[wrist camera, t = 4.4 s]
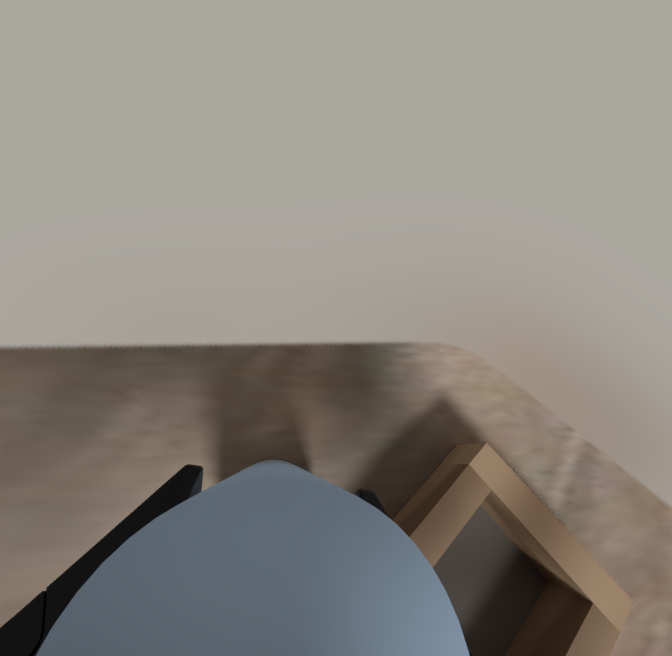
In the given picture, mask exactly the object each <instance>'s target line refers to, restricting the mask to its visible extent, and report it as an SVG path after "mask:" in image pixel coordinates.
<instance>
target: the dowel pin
mask: <svg viewBox="0 0 672 656" xmlns="http://www.w3.org/2000/svg"><path fill="white" fill-rule="evenodd" d="M36 656H469V651H468V648H467V645H466V642H465V639H464V635H463V632H462V629H461V626H460V623H459V620H458V617H457V615H456V613H455V610H454V608H453V606H452V604H451V601H450V599H449V597H448V594H447V592H446V590H445V588H444V587H443V585H442V583H441V581H440V580H439V578H438V576H437V574H436V573H435V571H434V569H433V567H432V566H431V564H430V563H429V562H428V560H427V559H426V558H425V556H424V555H423V554H422V552H421V551H420V549H419V548H418V547H417V545H416V544H415V543H414V542H413V541H412V540H411V539H410V538H409V537H408V535H407V534H406V533H405V532H404V531H403V530H402V529H401V528H400V527H399V526H398V525H397V524H396V523H395V522H393V521H392V520H391V519H390V518H388V517H387V516H386V515H385V514H384V513H382V512H381V511H380V510H379V509H377V508H376V507H374V506H372V505H371V504H369V503H367V502H366V501H364V500H363V499H361V498H359V497H358V496H356V495H354V494H352V493H350V492H348V491H346V490H344V489H342V488H340V487H338V486H336V485H334V484H332V483H330V482H328V481H326V480H324V479H322V478H320V477H318V476H316V475H314V474H312V473H310V472H308V471H306V470H304V469H302V468H300V467H298V466H296V465H294V464H291V463H289V462H286V461H283V460H276V459H275V460H264V461H261V462H257V463H255V464H253V465H251V466H249V467H247V468H245V469H243V470H242V471H240V472H238V473H236V474H234V475H232V476H230V477H229V478H227V479H225V480H223V481H221V482H219V483H217V484H215V485H214V486H212V487H210V488H208V489H206V490H204V491H202V492H200V493H199V494H197V495H195V496H193V497H191V498H189V499H187V500H186V501H184V502H182V503H180V504H179V505H177V506H175V507H173V508H172V509H170V510H168V511H167V512H165V513H163V514H162V515H160V516H158V517H157V518H155V519H154V520H152V521H151V522H150V523H148V524H147V525H146V526H145V527H143V528H142V529H141V530H139V531H138V532H137V533H135V534H134V535H133V536H131V537H130V538H129V539H128V540H127V541H125V542H124V543H123V544H122V545H121V546H120V547H119V548H118V549H117V550H116V551H115V552H114V553H113V554H112V555H111V556H109V557H108V558H107V559H106V560H105V561H104V562H103V563H102V564H101V565H100V566H99V568H98V569H97V570H96V571H95V572H94V573H93V574H92V576H91V577H90V578H89V579H88V580H87V581H86V582H85V584H84V585H83V586H82V587H81V588H80V589H79V591H78V592H77V593H76V594H75V596H74V597H73V599H72V600H71V601H70V603H69V604H68V606H67V607H66V608H65V610H64V611H63V613H62V614H61V615H60V617H59V618H58V620H57V621H56V622H55V624H54V625H53V627H52V628H51V630H50V632H49V634H48V635H47V637H46V639H45V640H44V642H43V644H42V646H41V647H40V649H39V651H38V653H37V654H36Z"/></svg>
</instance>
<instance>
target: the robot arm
mask: <svg viewBox="0 0 672 656" xmlns="http://www.w3.org/2000/svg"><path fill="white" fill-rule="evenodd" d="M202 478H203V467H201V466H197V465H190V464H188V465H185V466H184V467H183V468H182V469H181V470H179V471H178V472H177V473H176V474H175V475H174V476H173V477H172V478H170V479H169V480H168V481H167V482H166V483H165V484H164V485H162V486H161V487H160V488H159V489H158V490H157V491H156V492H155V493H153V494H152V495H151V496H150V497H149V498H148V499H147V500H145V501H144V502H143V503H142V504H141V505H140V506H139V507H138V508H136V509H135V510H134V511H133V512H132V513H131V514H130V515H128V516H127V517H126V518H125V519H124V520H123V521H122V522H121V523H119V524H118V525H117V526H116V527H115V528H114V529H113V530H111V531H110V532H109V533H108V534H107V535H106V536H105V537H104V538H102V539H101V540H100V541H99V542H98V543H97V544H96V545H94V546H93V547H92V548H91V549H90V550H89V551H88V552H87V553H85V554H84V555H83V556H82V557H81V558H80V559H79V560H77V561H76V562H75V563H74V564H73V565H72V566H71V567H70V568H68V569H67V570H66V571H65V572H64V573H63V574H62V575H60V576H59V577H58V578H57V579H56V580H55V581H54V582H53V583H51V584H50V585H49V586H48V587H47V589H46V591H42V592H41V593H40V594H39V595H37V596H36V597H35V598H34V599H33V600H32V601H31V602H30V603H28V604H27V605H26V606H25V607H24V608H23V609H22V610H21V611H19V612H18V613H17V614H16V615H15V616H14V617H12V618H11V619H10V620H9V621H8V622H6V623H5V624H4V625H3V626H2V627H1V628H0V656H36V654H37V653H38V651H39V649H40V647H41V646H42V644H43V642H44V640H45V639H46V637H47V635H48V634H49V632H50V630H51V628H52V627H53V625H54V624H55V622H56V621H57V620H58V618H59V617H60V615H61V614H62V613H63V611H64V610H65V608H66V607H67V606H68V604H69V603H70V601H71V600H72V599H73V597H74V596H75V594H76V593H77V592H78V591H79V589H80V588H81V587H82V586H83V585H84V584H85V582H86V581H87V580H88V579H89V578H90V577H91V576H92V574H93V573H94V572H95V571H96V570H97V569H98V568H99V566H100V565H101V564H102V563H103V562H104V561H105V560H106V559H107V558H108V557H109V556H111V555H112V554H113V553H114V552H115V551H116V550H117V549H118V548H119V547H120V546H121V545H122V544H123V543H124V542H125V541H127V540H128V539H129V538H130V537H131V536H133V535H134V534H135V533H137V532H138V531H139V530H141V529H142V528H143V527H145V526H146V525H147V524H148V523H150V522H151V521H152V520H154V519H155V518H157V517H158V516H160V515H162V514H163V513H165V512H167V511H168V510H170V509H172V508H173V507H175V506H177V505H179V504H180V503H182V502H184V501H186V500H187V499H189V498H191V497H193V496H195V495H197V494H199V493H200V492H201V489H202ZM356 496H358V497H359V498H361V499H363V500H364V501H366V502H367V503H369V504H371V505H372V506H374V507H376V508H377V509H379V510H380V511H381V512H382V513H384V514H385V515H386V516H387V517H388V518H389V516H388V514H387V513H386V511H385V509H384V508H383V506H382V504H381V503H380V501H379V500H378V498H377V496H376V495H375V493H374V492H373V491H371V490H366V489H358V490H357V492H356ZM466 645H467V644H466ZM467 648H468V651H469V656H474V655H473V653H472V652H471V650H470V649H469V647H468V645H467Z"/></svg>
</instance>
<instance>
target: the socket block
mask: <svg viewBox="0 0 672 656" xmlns="http://www.w3.org/2000/svg"><path fill="white" fill-rule="evenodd" d="M392 521H393V522H395V523H396V524H397V525H398V526H399V527H400V528H401V529H402V530H403V531H404V532H405V533H406V534H407V535H408V537H409V538H410V539H411V540H412V541H413V542H414V543H415V544H416V545H417V547H418V548H419V549H420V551H421V552H422V554H423V555H424V556H425V558H426V559H427V560H428V562H429V563H430V564H431V566H432V567H433V569H434V571H435V573H436V574H437V576H438V578H439V580H440V581H441V583H442V585H443V587H444V588H445V590H446V592H447V594H448V597H449V599H450V601H451V604H452V606H453V608H454V610H455V613H456V615H457V617H458V620H459V623H460V626H461V629H462V632H463V635H464V639H465V642H466V644H467V645H468V647H469V649H470V650H471V652H472V653H473V655H474V656H609V654H610V652H611V650H612V648H613V646H614V644H615V642H616V640H617V638H618V635H619V633H620V631H621V629H622V627H623V625H624V623H625V621H626V619H627V617H628V615H629V612H630V610H631V608H632V606H633V604H634V602H633V601H632V600H631V599H630V598H629V596H628V595H627V594H626V593H625V592H624V591H623V590H622V589H621V588H620V587H619V586H618V584H617V583H616V582H615V581H614V580H613V579H612V578H611V577H610V576H609V575H608V574H607V572H606V571H605V570H604V569H603V568H602V567H601V566H600V565H599V564H598V563H597V562H596V561H595V559H594V558H593V557H592V556H591V555H590V554H589V553H588V552H587V551H586V550H585V549H584V547H583V546H582V545H581V544H580V543H579V542H578V541H577V540H576V539H575V538H574V537H573V536H572V534H571V533H570V532H569V531H568V530H567V529H566V528H565V527H564V526H563V525H562V524H561V522H560V521H559V520H558V519H557V518H556V517H555V516H554V515H553V514H552V513H551V512H550V510H549V509H548V508H547V507H546V506H545V505H544V504H543V503H542V502H541V501H540V500H539V499H538V497H537V496H536V495H535V494H534V493H533V492H532V491H531V490H530V489H529V488H528V487H527V485H526V484H525V483H524V482H523V481H522V480H521V479H520V478H519V477H518V476H517V475H516V474H515V472H514V471H513V470H512V469H511V468H510V467H509V466H508V465H507V464H506V463H505V462H504V460H503V459H502V458H501V457H500V456H499V455H498V454H497V453H496V452H495V451H494V450H493V448H492V447H491V446H490V445H489V444H488V443H487V442H485V443H467V444H457V445H456V446H455V447H454V449H453V450H452V451H451V452H450V453H449V454H448V456H447V457H446V458H445V459H444V460H443V461H442V463H441V464H440V465H439V466H438V467H437V468H436V470H435V471H434V472H433V473H432V474H431V475H430V477H429V478H428V479H427V480H426V481H425V482H424V483H423V485H422V486H421V487H420V488H419V489H418V490H417V492H416V493H415V494H414V495H413V496H412V497H411V499H410V500H409V501H408V502H407V503H406V504H405V506H404V507H403V508H402V509H401V510H400V511H399V513H398V514H397V515H396V516H395V517H394V518H393V520H392Z"/></svg>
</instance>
